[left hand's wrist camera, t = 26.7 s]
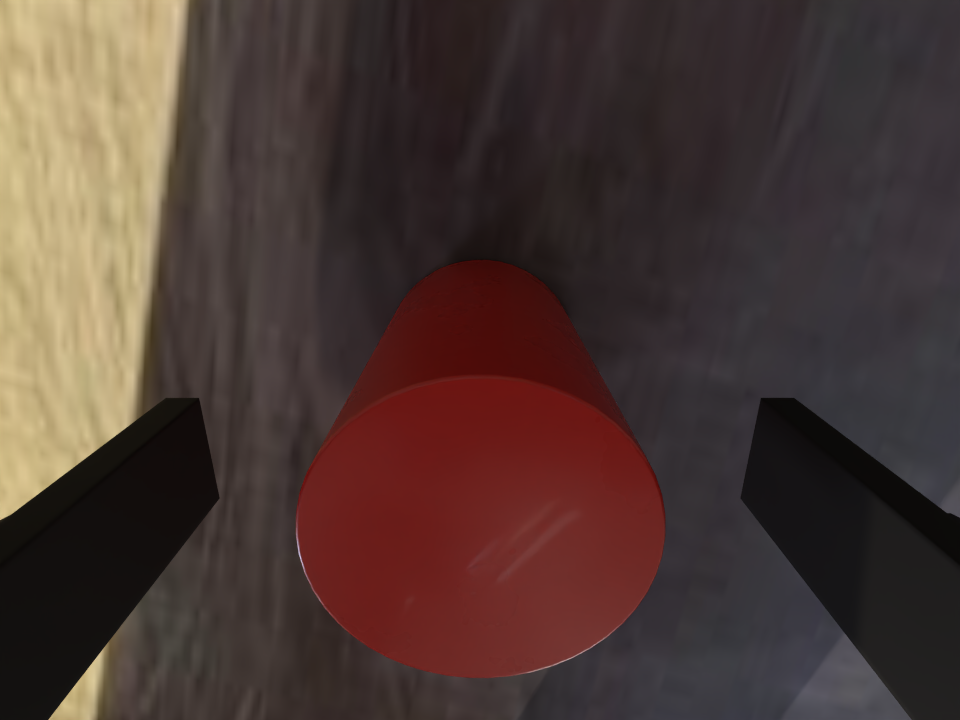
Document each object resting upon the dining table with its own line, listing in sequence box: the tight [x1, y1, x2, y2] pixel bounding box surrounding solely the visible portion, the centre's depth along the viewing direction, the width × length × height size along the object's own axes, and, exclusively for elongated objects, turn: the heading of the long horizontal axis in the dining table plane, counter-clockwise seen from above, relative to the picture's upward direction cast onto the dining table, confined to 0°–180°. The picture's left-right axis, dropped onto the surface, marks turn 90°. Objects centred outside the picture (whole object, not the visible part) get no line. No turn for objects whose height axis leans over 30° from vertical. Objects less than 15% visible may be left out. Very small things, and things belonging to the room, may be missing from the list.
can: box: [296, 260, 665, 678], centre depth 14 cm, size 6×6×10 cm
